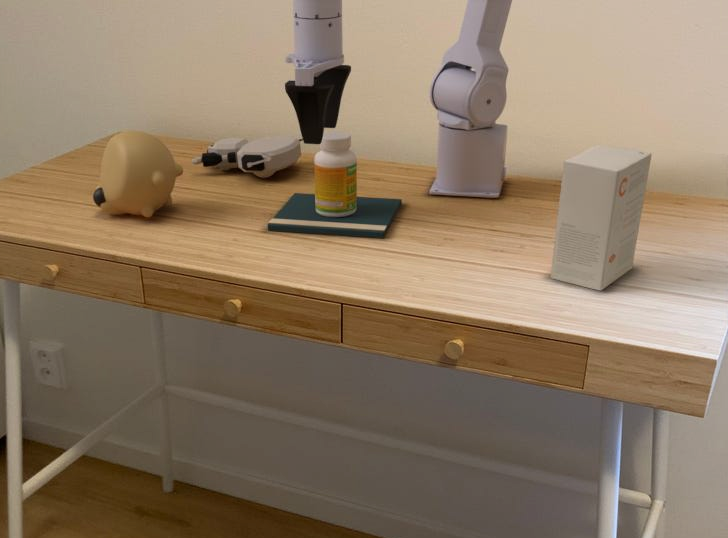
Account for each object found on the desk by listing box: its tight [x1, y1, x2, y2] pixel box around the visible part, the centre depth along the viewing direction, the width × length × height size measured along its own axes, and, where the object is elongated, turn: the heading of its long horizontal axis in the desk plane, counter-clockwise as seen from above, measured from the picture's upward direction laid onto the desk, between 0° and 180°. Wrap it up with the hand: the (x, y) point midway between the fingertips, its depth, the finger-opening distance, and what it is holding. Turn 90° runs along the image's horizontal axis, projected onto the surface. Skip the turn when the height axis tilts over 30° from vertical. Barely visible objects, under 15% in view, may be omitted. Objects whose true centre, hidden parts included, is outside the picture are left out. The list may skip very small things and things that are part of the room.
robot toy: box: [191, 135, 304, 179], centre depth 138 cm, size 12×4×15 cm
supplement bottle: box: [313, 130, 358, 217], centre depth 118 cm, size 5×5×10 cm
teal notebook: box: [267, 192, 403, 239], centre depth 121 cm, size 15×13×1 cm
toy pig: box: [92, 130, 184, 218], centre depth 122 cm, size 10×12×11 cm
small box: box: [550, 143, 653, 291], centre depth 100 cm, size 8×6×13 cm
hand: (320, 135), depth 116 cm, fingers open, 7 cm apart
